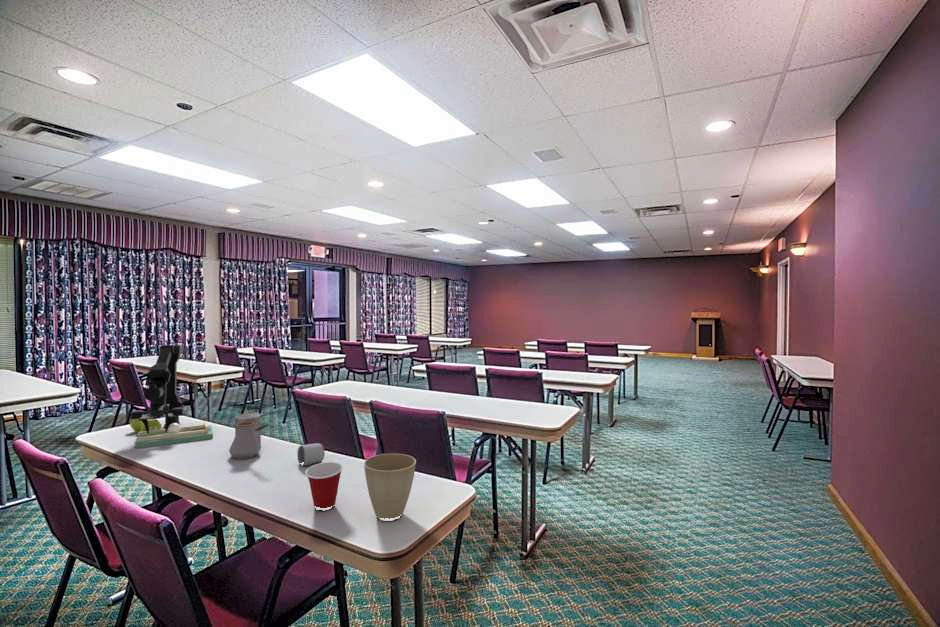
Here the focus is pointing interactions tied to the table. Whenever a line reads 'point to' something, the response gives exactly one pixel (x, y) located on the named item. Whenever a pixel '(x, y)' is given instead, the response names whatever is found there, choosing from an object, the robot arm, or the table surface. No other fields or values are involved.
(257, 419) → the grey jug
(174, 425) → the golf ball
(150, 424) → the dumbbell
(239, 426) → the coffee pot
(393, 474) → the plant pot
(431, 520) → the table surface
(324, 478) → the plastic cup
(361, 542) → the table surface
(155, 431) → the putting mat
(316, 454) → the ceramic mug
